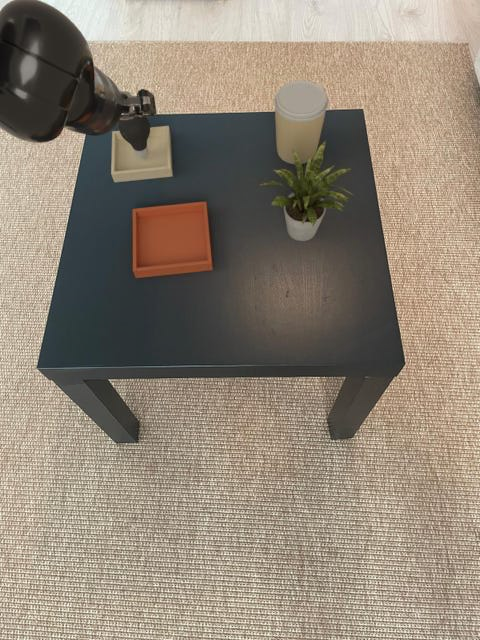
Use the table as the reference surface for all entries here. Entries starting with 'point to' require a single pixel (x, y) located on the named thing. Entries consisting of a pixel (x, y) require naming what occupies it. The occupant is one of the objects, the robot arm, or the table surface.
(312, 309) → the table surface
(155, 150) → the cream tray
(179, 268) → the terracotta tray
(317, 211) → the house plant
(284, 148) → the coffee cup
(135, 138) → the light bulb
